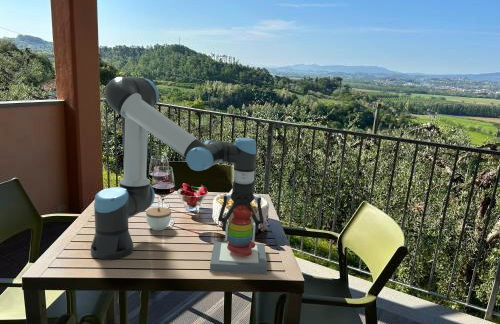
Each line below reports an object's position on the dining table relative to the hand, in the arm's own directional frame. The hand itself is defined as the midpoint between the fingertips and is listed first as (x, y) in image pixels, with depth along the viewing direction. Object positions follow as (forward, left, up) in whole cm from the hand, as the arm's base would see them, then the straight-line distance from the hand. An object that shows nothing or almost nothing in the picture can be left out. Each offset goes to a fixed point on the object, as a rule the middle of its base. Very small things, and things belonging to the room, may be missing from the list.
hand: (239, 239), depth 136 cm
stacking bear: (0, 0, -4) cm, 4 cm away
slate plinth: (0, 0, -8) cm, 8 cm away
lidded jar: (-36, +27, -9) cm, 46 cm away
